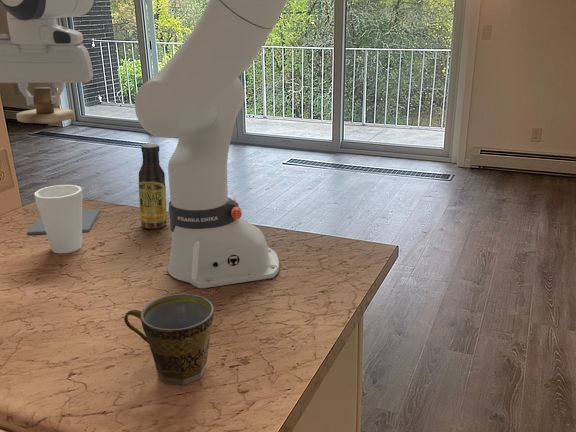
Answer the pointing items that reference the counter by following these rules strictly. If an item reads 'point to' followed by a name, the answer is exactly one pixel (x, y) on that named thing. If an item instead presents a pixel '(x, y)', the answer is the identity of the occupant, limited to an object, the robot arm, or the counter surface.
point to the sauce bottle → (152, 189)
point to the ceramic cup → (177, 335)
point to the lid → (44, 109)
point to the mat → (87, 222)
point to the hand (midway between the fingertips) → (44, 105)
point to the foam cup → (61, 216)
